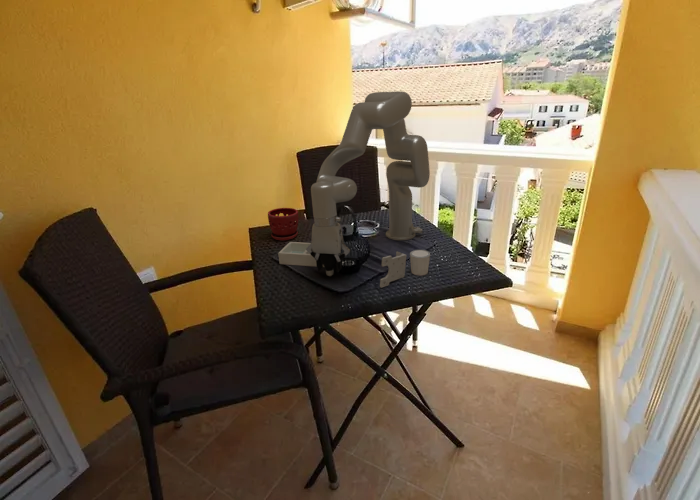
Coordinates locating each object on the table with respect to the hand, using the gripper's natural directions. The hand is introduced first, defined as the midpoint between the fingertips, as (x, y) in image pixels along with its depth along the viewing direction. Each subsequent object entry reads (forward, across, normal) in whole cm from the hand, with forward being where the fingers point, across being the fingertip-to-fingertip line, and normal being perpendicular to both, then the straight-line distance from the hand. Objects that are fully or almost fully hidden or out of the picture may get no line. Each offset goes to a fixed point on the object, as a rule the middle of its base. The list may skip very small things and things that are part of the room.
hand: (329, 269), depth 129 cm
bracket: (+3, -21, 0) cm, 21 cm away
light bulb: (+3, 0, 0) cm, 3 cm away
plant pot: (+3, +31, -33) cm, 45 cm away
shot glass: (+3, -30, -8) cm, 31 cm away
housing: (+3, +12, -12) cm, 17 cm away
